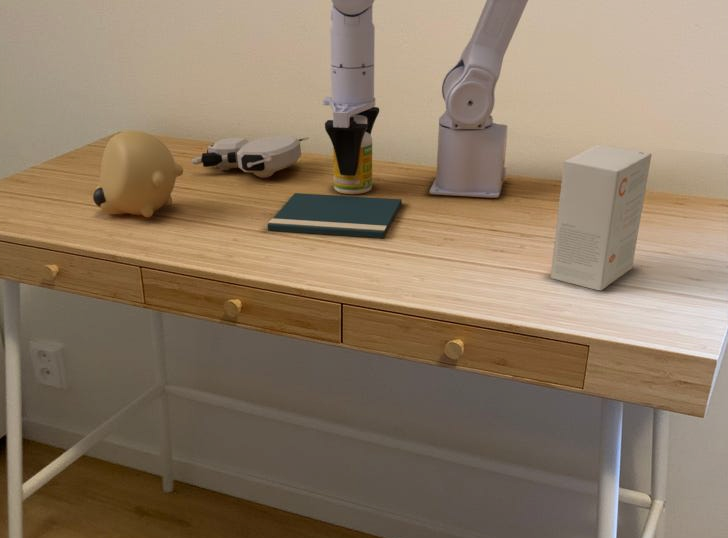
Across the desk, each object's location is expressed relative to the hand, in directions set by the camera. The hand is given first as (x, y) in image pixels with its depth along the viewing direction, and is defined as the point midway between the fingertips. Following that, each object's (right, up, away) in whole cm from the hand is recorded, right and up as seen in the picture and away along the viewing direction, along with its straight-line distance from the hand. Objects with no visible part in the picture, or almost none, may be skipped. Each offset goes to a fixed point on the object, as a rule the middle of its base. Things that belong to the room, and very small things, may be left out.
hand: (352, 168), depth 129 cm
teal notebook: (-2, -9, -8) cm, 12 cm away
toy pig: (-29, -8, -5) cm, 30 cm away
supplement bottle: (0, -3, +2) cm, 3 cm away
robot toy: (-15, +3, +10) cm, 18 cm away
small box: (+26, -20, -25) cm, 42 cm away
